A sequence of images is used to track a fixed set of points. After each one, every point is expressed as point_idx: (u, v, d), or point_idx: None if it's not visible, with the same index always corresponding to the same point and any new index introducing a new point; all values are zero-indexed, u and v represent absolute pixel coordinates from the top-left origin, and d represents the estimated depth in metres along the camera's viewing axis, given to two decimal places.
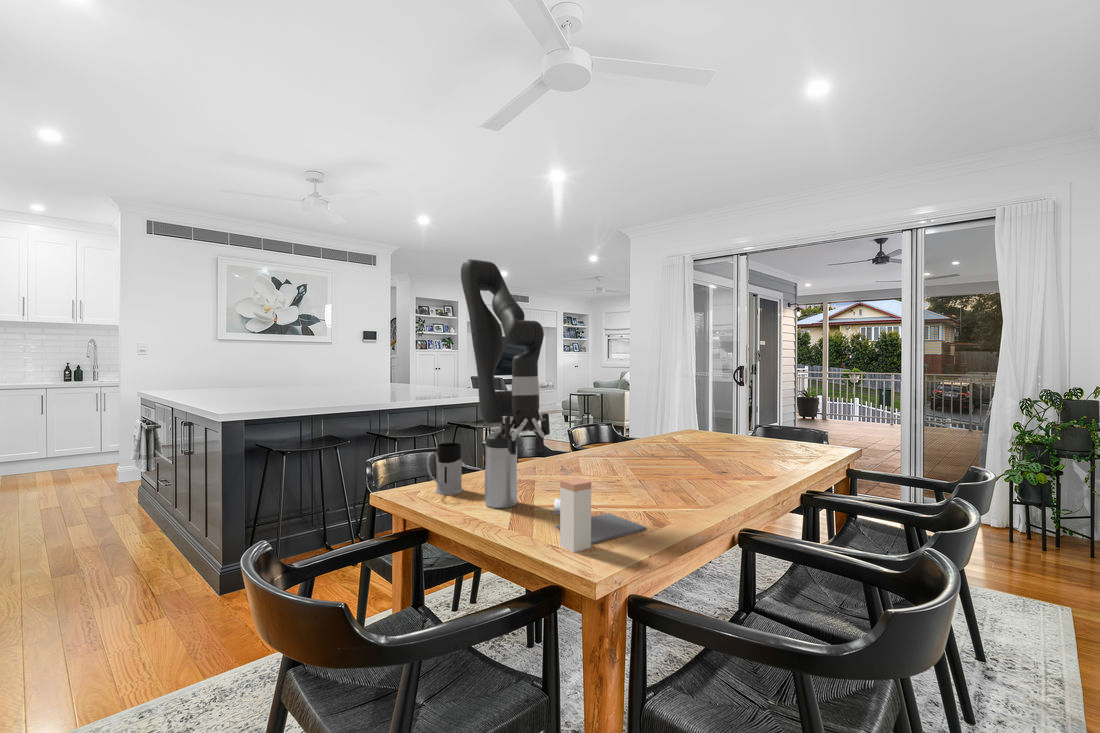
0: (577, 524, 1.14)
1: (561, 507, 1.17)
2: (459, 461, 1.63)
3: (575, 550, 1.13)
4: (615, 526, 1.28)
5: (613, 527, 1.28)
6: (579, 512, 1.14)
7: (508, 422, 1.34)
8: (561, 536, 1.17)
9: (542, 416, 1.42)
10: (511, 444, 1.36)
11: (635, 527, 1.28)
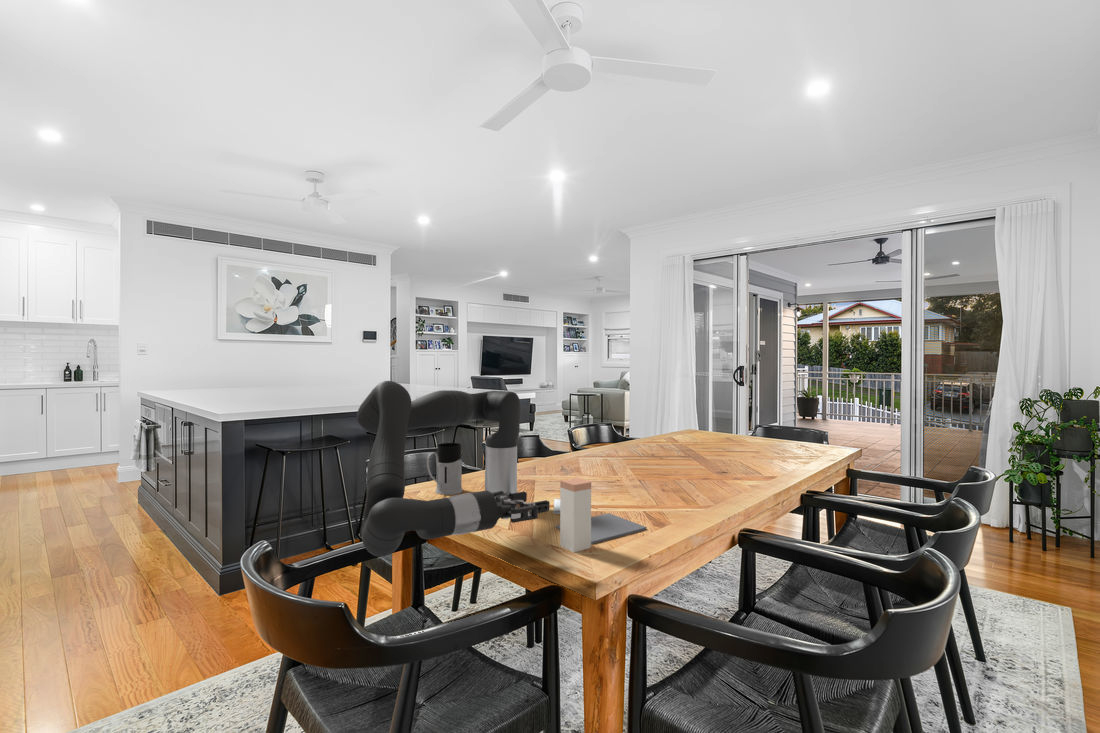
0: (577, 524, 1.14)
1: (561, 507, 1.17)
2: (459, 461, 1.63)
3: (575, 550, 1.13)
4: (615, 526, 1.28)
5: (613, 527, 1.28)
6: (579, 512, 1.14)
7: (518, 508, 1.00)
8: (561, 536, 1.17)
9: None
10: (539, 505, 1.04)
11: (635, 527, 1.28)
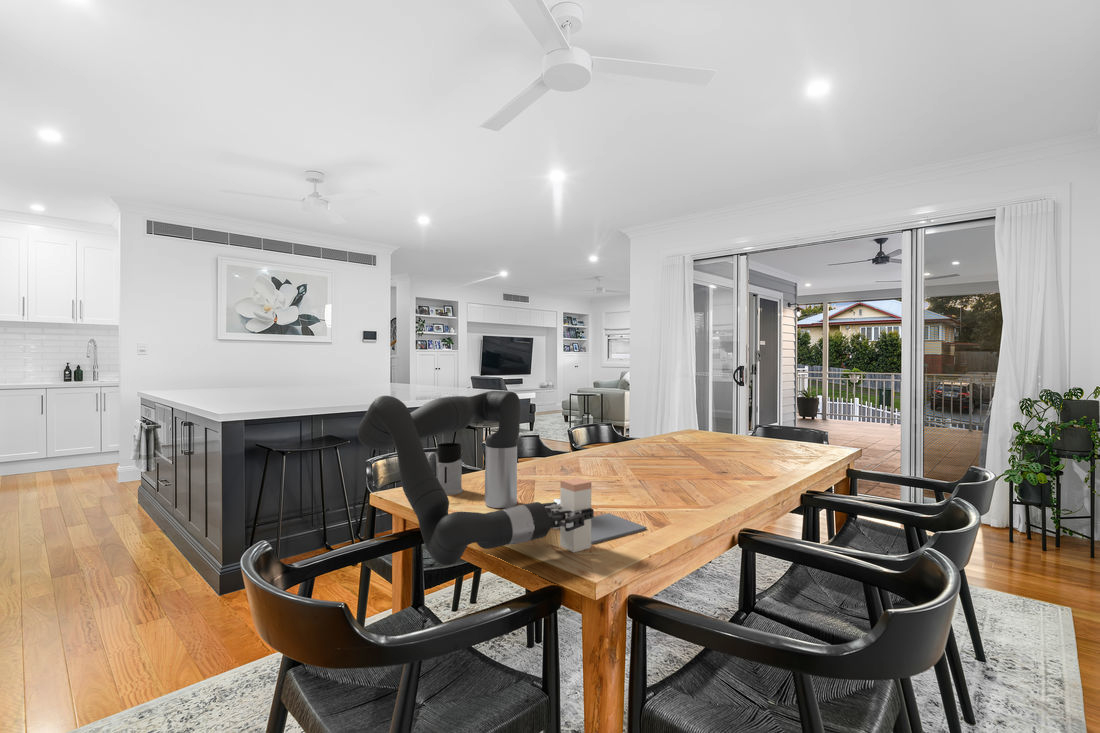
0: None
1: (561, 507, 1.17)
2: (459, 461, 1.63)
3: (575, 550, 1.13)
4: (615, 526, 1.28)
5: (613, 527, 1.28)
6: None
7: (570, 517, 1.08)
8: (561, 536, 1.17)
9: None
10: (585, 512, 1.13)
11: (635, 527, 1.28)
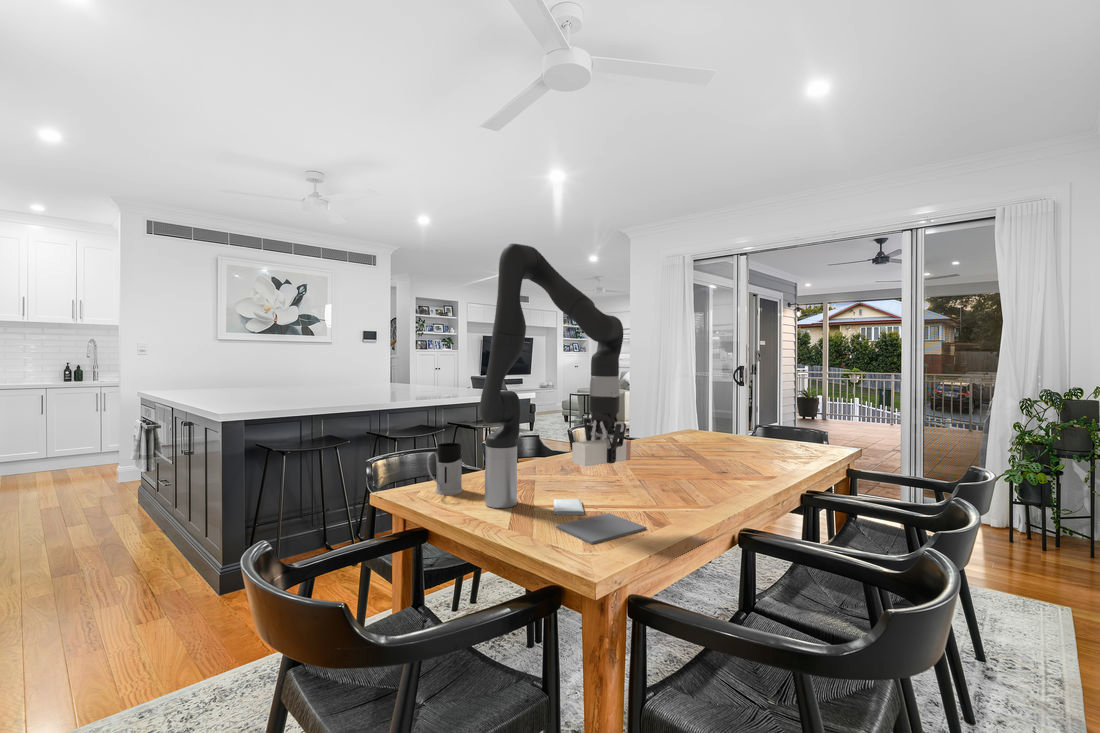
0: (604, 448, 1.26)
1: None
2: (459, 461, 1.63)
3: (586, 448, 1.22)
4: (615, 526, 1.28)
5: (613, 527, 1.28)
6: None
7: None
8: (580, 442, 1.27)
9: None
10: None
11: (635, 527, 1.28)
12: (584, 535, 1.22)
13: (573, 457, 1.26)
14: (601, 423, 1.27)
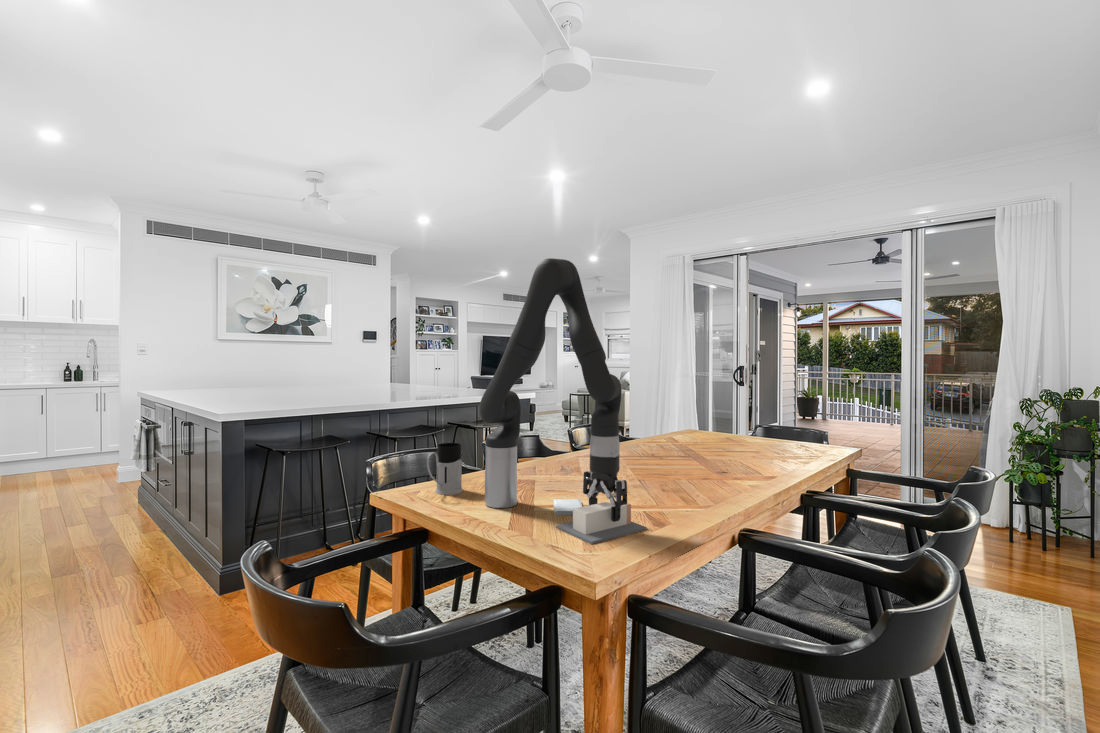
0: (604, 514, 1.26)
1: (601, 503, 1.32)
2: (459, 461, 1.63)
3: (586, 515, 1.23)
4: None
5: None
6: None
7: None
8: (581, 507, 1.28)
9: None
10: None
11: (635, 527, 1.28)
12: (584, 535, 1.22)
13: (574, 523, 1.26)
14: (601, 483, 1.27)
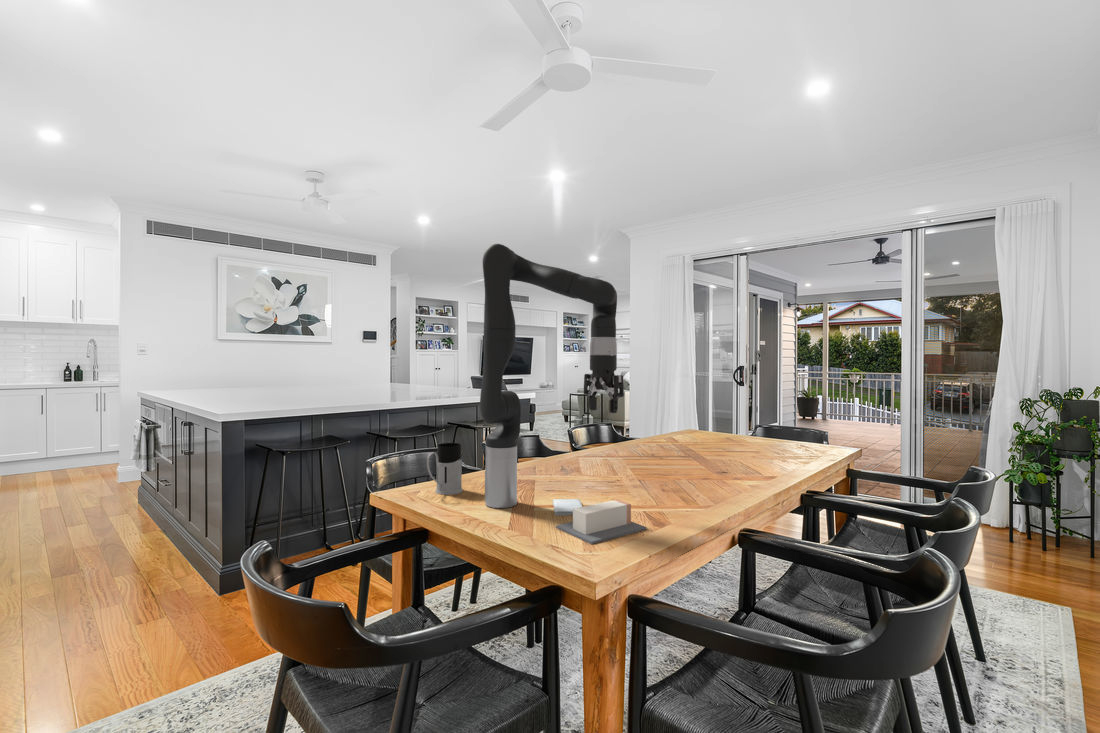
0: (604, 514, 1.26)
1: (601, 503, 1.32)
2: (459, 461, 1.63)
3: (586, 515, 1.23)
4: None
5: None
6: (612, 514, 1.28)
7: None
8: (581, 507, 1.28)
9: None
10: None
11: (635, 527, 1.28)
12: (584, 535, 1.22)
13: (574, 523, 1.26)
14: (600, 379, 1.41)
